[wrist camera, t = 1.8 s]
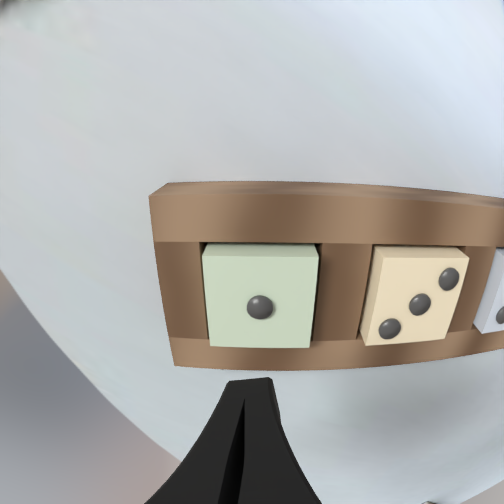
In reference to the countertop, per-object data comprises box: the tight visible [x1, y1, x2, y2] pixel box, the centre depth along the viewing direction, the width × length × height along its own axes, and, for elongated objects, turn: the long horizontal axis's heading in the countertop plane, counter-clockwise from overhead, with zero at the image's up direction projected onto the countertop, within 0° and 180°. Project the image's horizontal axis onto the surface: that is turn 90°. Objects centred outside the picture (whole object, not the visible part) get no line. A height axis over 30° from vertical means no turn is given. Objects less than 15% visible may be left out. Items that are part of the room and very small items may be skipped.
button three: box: [358, 244, 469, 346], centre depth 15 cm, size 5×5×3 cm
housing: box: [149, 181, 504, 371], centre depth 16 cm, size 26×10×3 cm, turn 90°
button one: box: [202, 242, 319, 348], centre depth 16 cm, size 5×5×3 cm
